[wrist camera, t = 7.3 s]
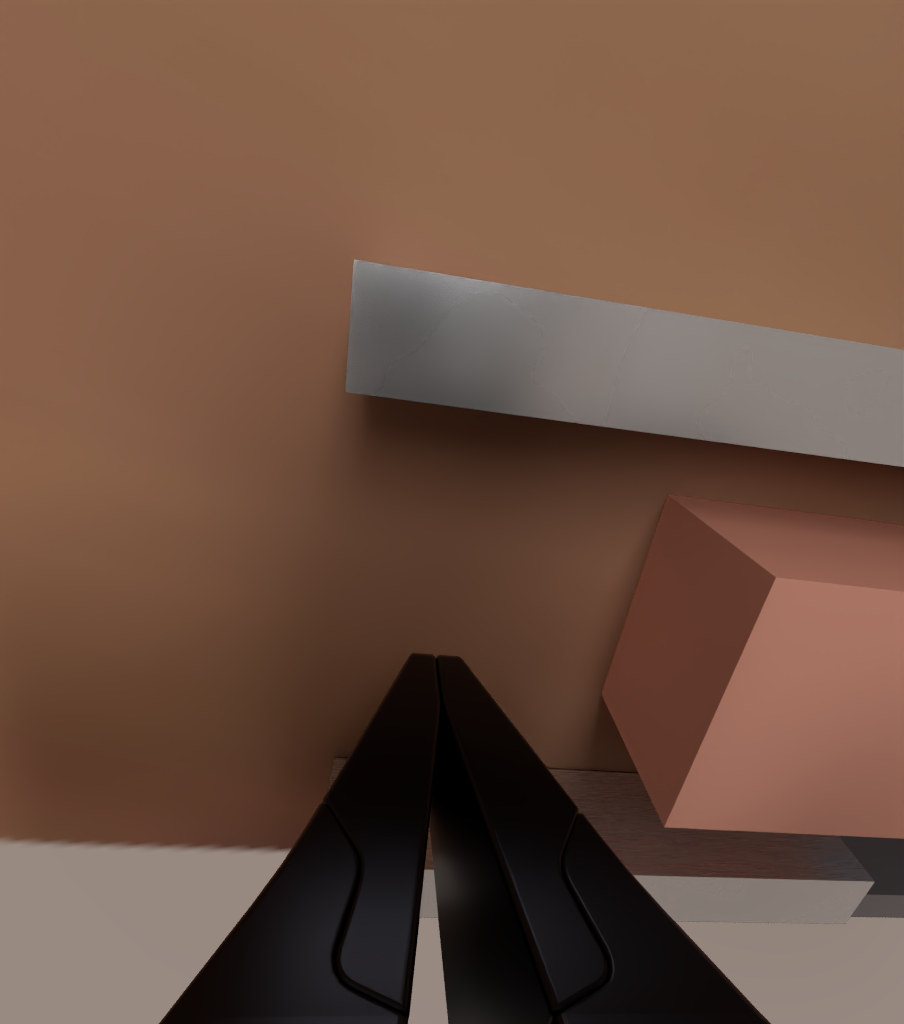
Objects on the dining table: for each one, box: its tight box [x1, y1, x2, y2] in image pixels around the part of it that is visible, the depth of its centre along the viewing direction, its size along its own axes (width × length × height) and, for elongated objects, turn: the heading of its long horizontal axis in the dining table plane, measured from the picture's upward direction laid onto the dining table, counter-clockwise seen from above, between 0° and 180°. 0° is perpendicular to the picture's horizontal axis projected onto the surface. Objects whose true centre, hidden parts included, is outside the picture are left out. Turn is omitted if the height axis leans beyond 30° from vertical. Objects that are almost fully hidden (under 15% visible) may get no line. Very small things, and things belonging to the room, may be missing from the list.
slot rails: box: [328, 260, 904, 924], centre depth 10 cm, size 12×12×2 cm
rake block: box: [601, 495, 904, 839], centre depth 10 cm, size 7×5×4 cm
